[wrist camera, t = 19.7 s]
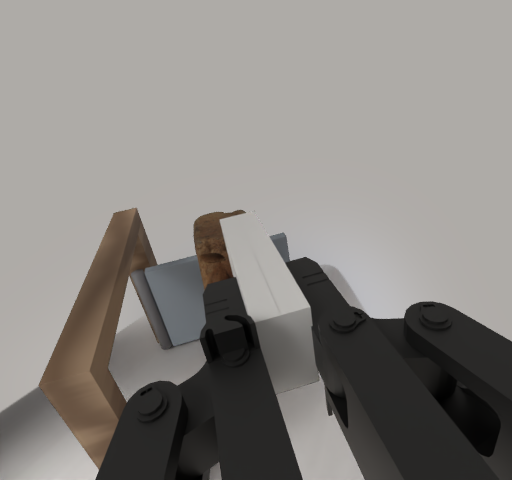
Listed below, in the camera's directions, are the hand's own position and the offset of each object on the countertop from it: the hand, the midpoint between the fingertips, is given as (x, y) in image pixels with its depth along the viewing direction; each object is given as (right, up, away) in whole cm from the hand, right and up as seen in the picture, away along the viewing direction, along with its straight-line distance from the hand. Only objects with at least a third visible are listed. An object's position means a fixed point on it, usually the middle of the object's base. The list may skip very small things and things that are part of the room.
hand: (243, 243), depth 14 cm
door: (-4, -13, +37) cm, 39 cm away
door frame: (-11, -19, +28) cm, 35 cm away
